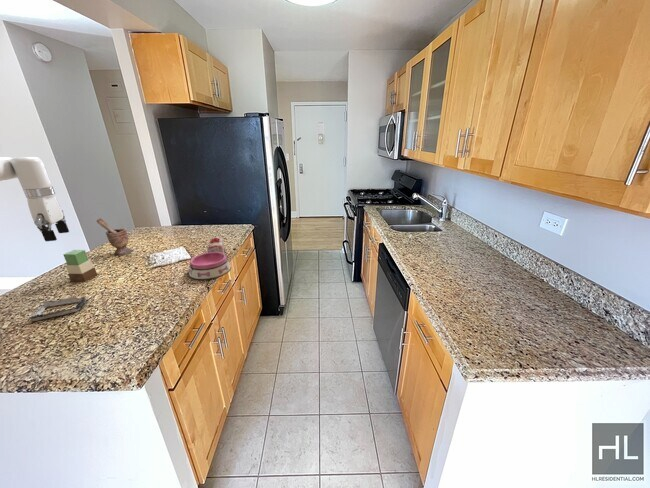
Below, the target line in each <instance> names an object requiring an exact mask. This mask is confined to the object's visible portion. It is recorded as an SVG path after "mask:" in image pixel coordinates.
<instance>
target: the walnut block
mask: <svg viewBox="0 0 650 488" xmlns="http://www.w3.org/2000/svg"><path fill="white" fill-rule="evenodd" d="M93 267H94V268H92V269H90V270H88V271H87V272H85V273H83V274H69V273H68V274H67V276H68V277H69V278H68V279H69V280H70V282H74V283H75V282H82V283H83V282H84V283H85V282H87V281H89V280H91V279H93V278H95V276H97V275H98V272H97V270H96V268H95V266H93Z"/></svg>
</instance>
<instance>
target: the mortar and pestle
mask: <svg viewBox="0 0 650 488" xmlns="http://www.w3.org/2000/svg"><path fill="white" fill-rule="evenodd" d="M96 223H97V224H98V225H99V226H100V227H102V228H104V229H105V230H107V231H106V232H105V235H106V237H107V240H108V242H109V244H110V245H111V246H112V247H114V248H116V249H115V251H114V255H115V256H118V257H119V256H124V255H125V256H126V255H129V254H130V253H132V250H131V248H129V247H128V246H127V245H128V243H129V235H128V233H127V229H126V228H112V227H111V226H110V225H109V224H108V223H107V222H106V220H104V219H103V218H98V219H97V220H96Z"/></svg>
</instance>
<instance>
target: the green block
mask: <svg viewBox="0 0 650 488" xmlns="http://www.w3.org/2000/svg"><path fill="white" fill-rule="evenodd" d="M62 255H63V257H64V260H65V263H66V265H80V264H82V263H84V262H86V261H88V260H90V259H89V257H88V255H87V252H86V249H73V250H71V251H67V252H66V253H64V254H62Z"/></svg>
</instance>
